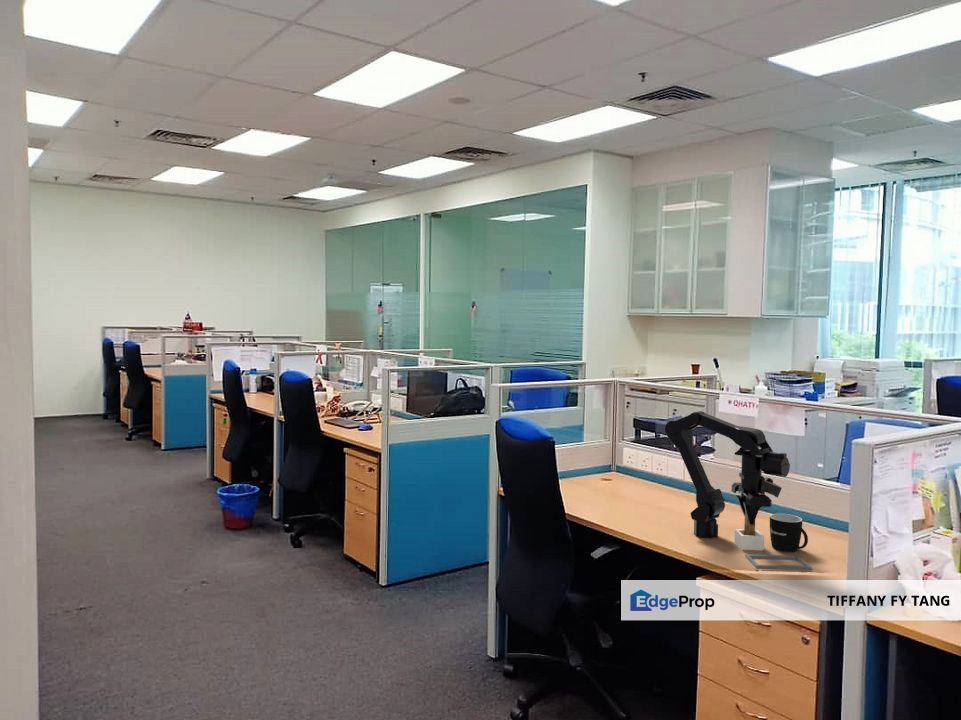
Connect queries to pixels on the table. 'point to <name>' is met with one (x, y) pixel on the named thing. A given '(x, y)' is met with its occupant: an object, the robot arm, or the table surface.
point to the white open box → (749, 540)
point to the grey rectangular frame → (805, 567)
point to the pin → (748, 527)
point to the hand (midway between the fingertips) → (749, 522)
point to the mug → (786, 532)
